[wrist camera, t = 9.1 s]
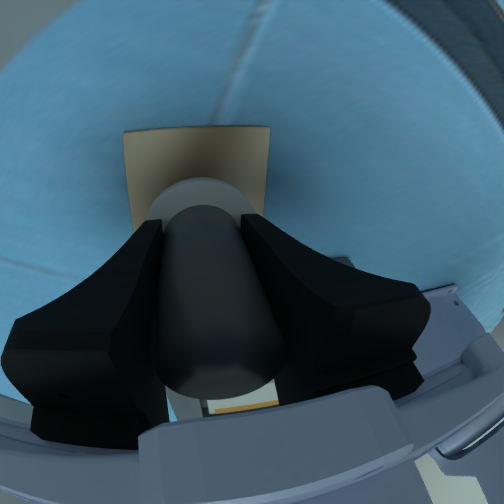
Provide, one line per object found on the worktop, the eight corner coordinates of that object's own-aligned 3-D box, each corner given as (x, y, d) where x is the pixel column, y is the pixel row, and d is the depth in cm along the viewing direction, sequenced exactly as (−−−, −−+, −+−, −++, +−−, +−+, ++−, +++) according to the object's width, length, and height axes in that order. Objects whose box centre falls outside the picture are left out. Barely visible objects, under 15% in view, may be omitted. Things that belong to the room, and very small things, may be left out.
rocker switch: (310, 364, 18) (313, 376, 17) (280, 395, 25) (282, 403, 25) (203, 380, 16) (205, 393, 16) (208, 406, 24) (209, 415, 23)
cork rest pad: (267, 126, 13) (270, 128, 13) (258, 244, 17) (260, 249, 17) (124, 131, 12) (122, 133, 11) (139, 253, 16) (138, 258, 15)
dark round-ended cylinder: (250, 163, 13) (344, 281, 5) (241, 249, 15) (296, 402, 8) (149, 162, 12) (96, 290, 4) (153, 251, 14) (140, 415, 7)
